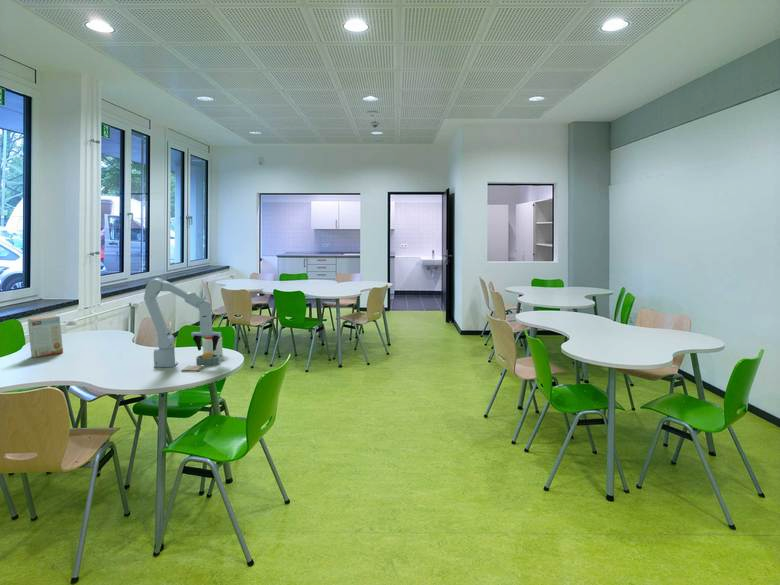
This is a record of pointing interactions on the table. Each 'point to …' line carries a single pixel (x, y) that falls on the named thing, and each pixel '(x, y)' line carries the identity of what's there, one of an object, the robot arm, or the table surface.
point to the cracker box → (45, 336)
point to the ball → (207, 355)
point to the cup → (209, 345)
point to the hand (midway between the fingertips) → (207, 350)
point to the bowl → (207, 360)
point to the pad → (192, 368)
